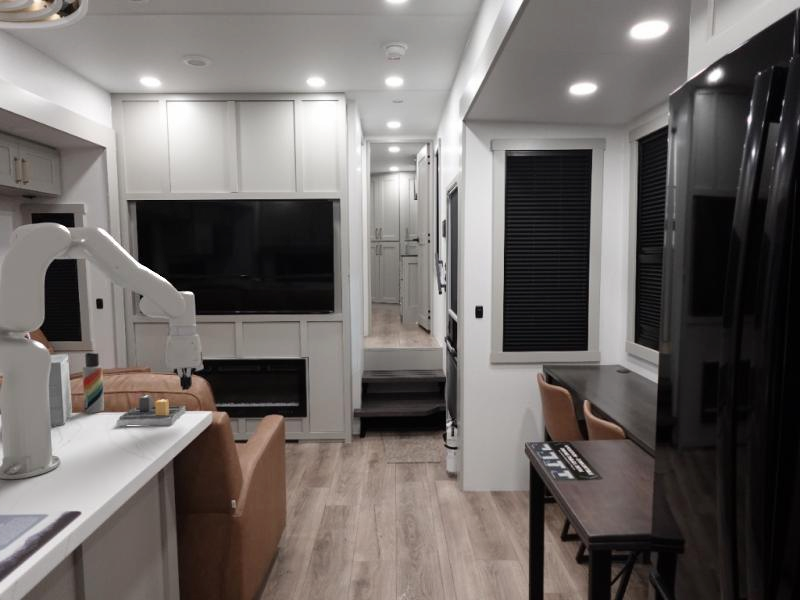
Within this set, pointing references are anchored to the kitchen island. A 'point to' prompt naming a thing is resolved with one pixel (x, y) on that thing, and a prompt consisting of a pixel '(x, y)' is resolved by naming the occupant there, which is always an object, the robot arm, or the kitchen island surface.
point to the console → (150, 416)
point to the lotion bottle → (93, 384)
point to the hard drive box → (59, 390)
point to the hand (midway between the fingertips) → (186, 388)
